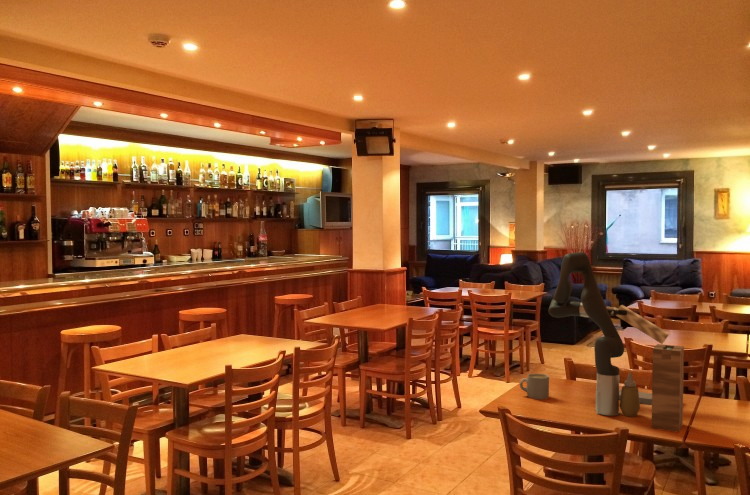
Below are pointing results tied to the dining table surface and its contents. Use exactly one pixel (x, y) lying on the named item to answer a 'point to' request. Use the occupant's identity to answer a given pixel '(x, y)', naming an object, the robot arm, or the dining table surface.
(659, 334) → the bar
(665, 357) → the stand
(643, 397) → the board
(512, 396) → the dining table surface
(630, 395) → the squeeze bottle
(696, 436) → the dining table surface
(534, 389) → the coffee mug
